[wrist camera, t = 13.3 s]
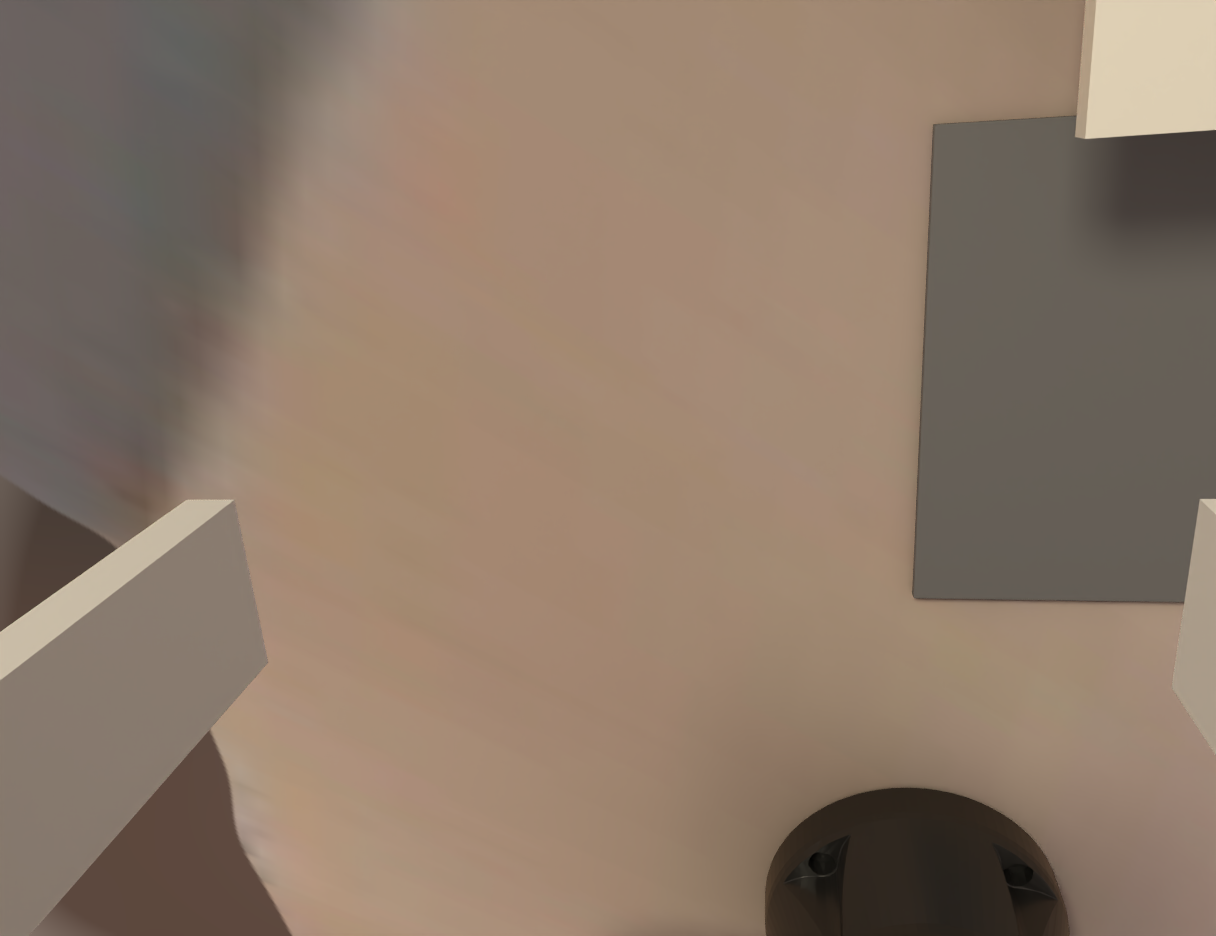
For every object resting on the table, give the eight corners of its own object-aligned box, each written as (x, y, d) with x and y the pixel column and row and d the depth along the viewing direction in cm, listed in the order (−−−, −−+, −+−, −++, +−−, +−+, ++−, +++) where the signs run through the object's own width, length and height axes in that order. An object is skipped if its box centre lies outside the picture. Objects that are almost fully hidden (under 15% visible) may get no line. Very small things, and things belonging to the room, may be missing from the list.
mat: (1409, 599, 44) (1416, 605, 44) (912, 593, 48) (913, 598, 47) (1530, 88, 37) (1539, 88, 37) (933, 124, 41) (935, 124, 40)
